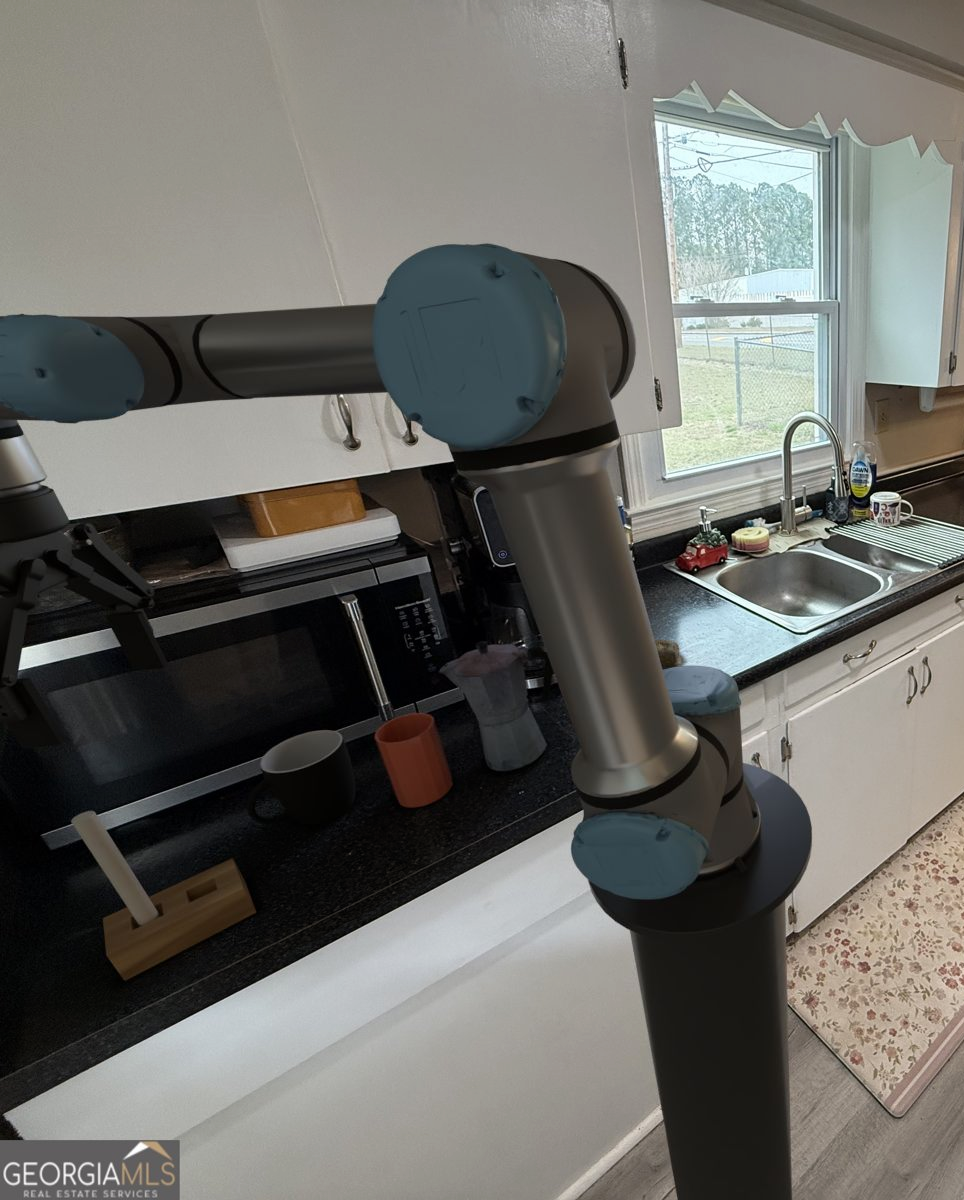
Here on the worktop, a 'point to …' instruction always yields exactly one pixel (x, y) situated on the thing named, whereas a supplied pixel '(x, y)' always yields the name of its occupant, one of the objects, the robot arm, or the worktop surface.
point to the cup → (414, 759)
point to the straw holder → (178, 919)
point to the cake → (668, 654)
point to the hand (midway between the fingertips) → (104, 702)
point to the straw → (115, 867)
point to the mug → (307, 778)
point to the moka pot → (502, 701)
